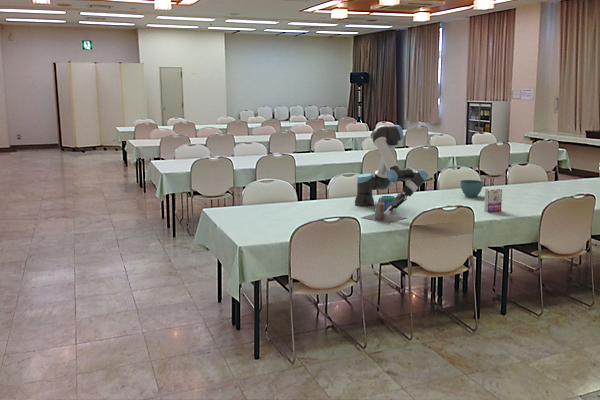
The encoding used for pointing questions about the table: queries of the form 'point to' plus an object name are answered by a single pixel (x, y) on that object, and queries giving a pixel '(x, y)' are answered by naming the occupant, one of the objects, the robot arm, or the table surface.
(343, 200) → the table surface
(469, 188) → the teal bowl
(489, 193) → the candy bar box
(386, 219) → the mat
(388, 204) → the snack cup
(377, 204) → the post
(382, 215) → the gate
